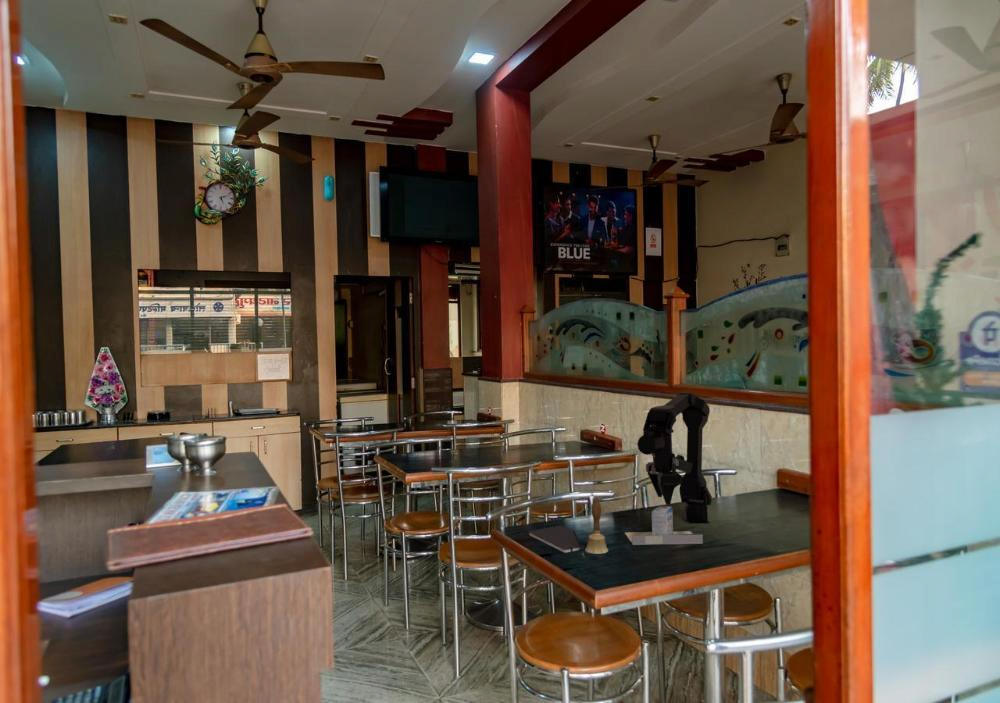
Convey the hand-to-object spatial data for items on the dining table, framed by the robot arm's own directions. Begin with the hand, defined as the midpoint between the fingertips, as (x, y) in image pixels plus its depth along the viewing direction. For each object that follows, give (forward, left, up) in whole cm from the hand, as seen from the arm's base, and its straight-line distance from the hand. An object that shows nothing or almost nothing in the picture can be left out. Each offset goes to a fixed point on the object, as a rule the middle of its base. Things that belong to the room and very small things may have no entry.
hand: (663, 500), depth 188 cm
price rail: (+2, +10, -10) cm, 14 cm away
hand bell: (+23, +14, -12) cm, 29 cm away
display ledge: (+2, +4, -12) cm, 12 cm away
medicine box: (+2, +4, -10) cm, 11 cm away
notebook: (+31, -1, -12) cm, 33 cm away
